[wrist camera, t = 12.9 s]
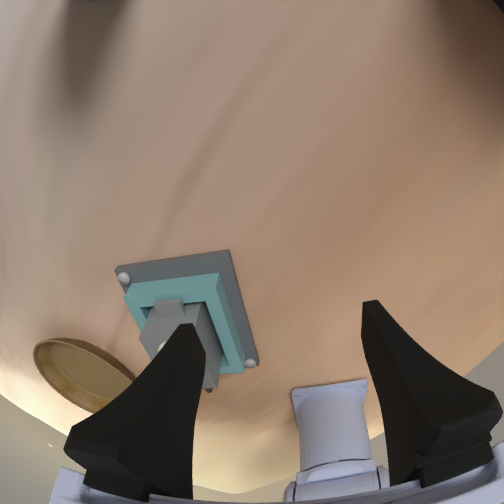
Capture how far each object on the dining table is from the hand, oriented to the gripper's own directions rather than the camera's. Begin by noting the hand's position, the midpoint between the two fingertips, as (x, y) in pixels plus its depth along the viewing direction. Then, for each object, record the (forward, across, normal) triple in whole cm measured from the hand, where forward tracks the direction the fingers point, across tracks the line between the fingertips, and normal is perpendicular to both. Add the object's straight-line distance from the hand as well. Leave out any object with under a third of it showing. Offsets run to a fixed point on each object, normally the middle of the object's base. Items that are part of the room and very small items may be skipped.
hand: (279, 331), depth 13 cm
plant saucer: (+10, +24, +14) cm, 29 cm away
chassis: (+9, +8, +7) cm, 14 cm away
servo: (+9, +8, +8) cm, 14 cm away
